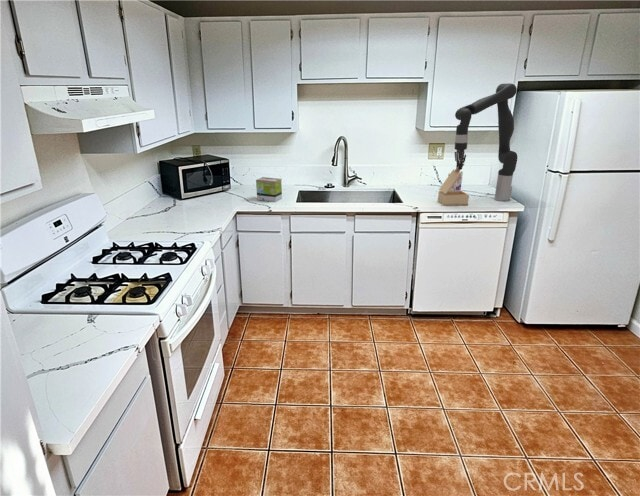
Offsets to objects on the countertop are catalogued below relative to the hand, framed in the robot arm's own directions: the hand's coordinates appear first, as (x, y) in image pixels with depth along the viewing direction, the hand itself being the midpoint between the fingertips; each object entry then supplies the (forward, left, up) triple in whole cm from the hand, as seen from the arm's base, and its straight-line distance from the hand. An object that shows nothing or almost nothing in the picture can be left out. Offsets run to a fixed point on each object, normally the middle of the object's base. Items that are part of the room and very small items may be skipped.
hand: (459, 168), depth 267 cm
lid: (+3, 0, -6) cm, 7 cm away
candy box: (-7, -22, -23) cm, 33 cm away
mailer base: (+2, 0, -23) cm, 23 cm away
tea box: (+125, -22, -23) cm, 129 cm away
